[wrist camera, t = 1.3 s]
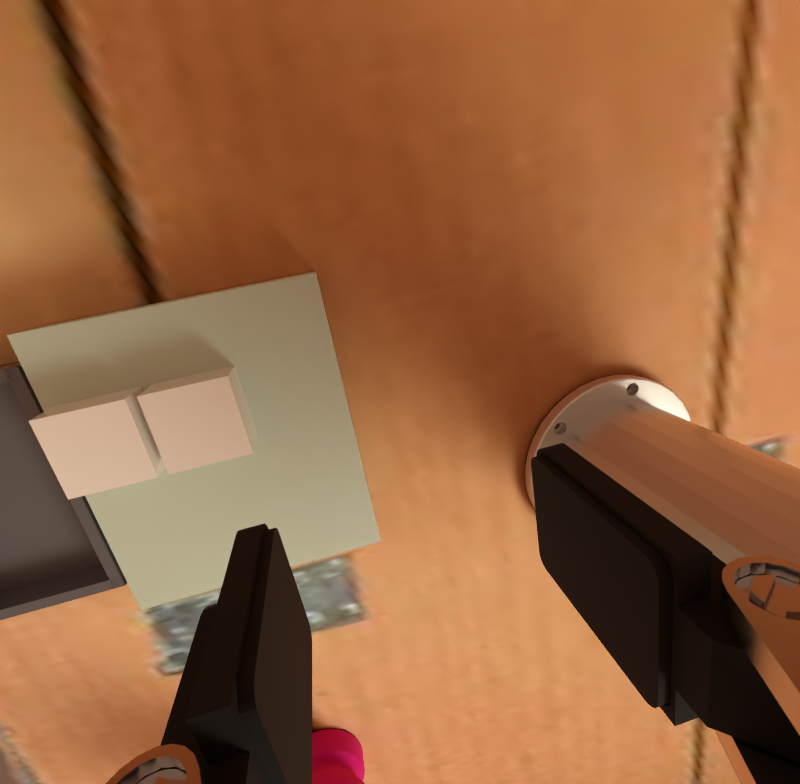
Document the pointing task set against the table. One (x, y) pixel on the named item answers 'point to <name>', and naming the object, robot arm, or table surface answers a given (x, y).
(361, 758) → the pepper mill
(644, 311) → the table surface
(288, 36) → the table surface
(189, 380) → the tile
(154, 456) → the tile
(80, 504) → the box
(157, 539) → the beige flat slab
